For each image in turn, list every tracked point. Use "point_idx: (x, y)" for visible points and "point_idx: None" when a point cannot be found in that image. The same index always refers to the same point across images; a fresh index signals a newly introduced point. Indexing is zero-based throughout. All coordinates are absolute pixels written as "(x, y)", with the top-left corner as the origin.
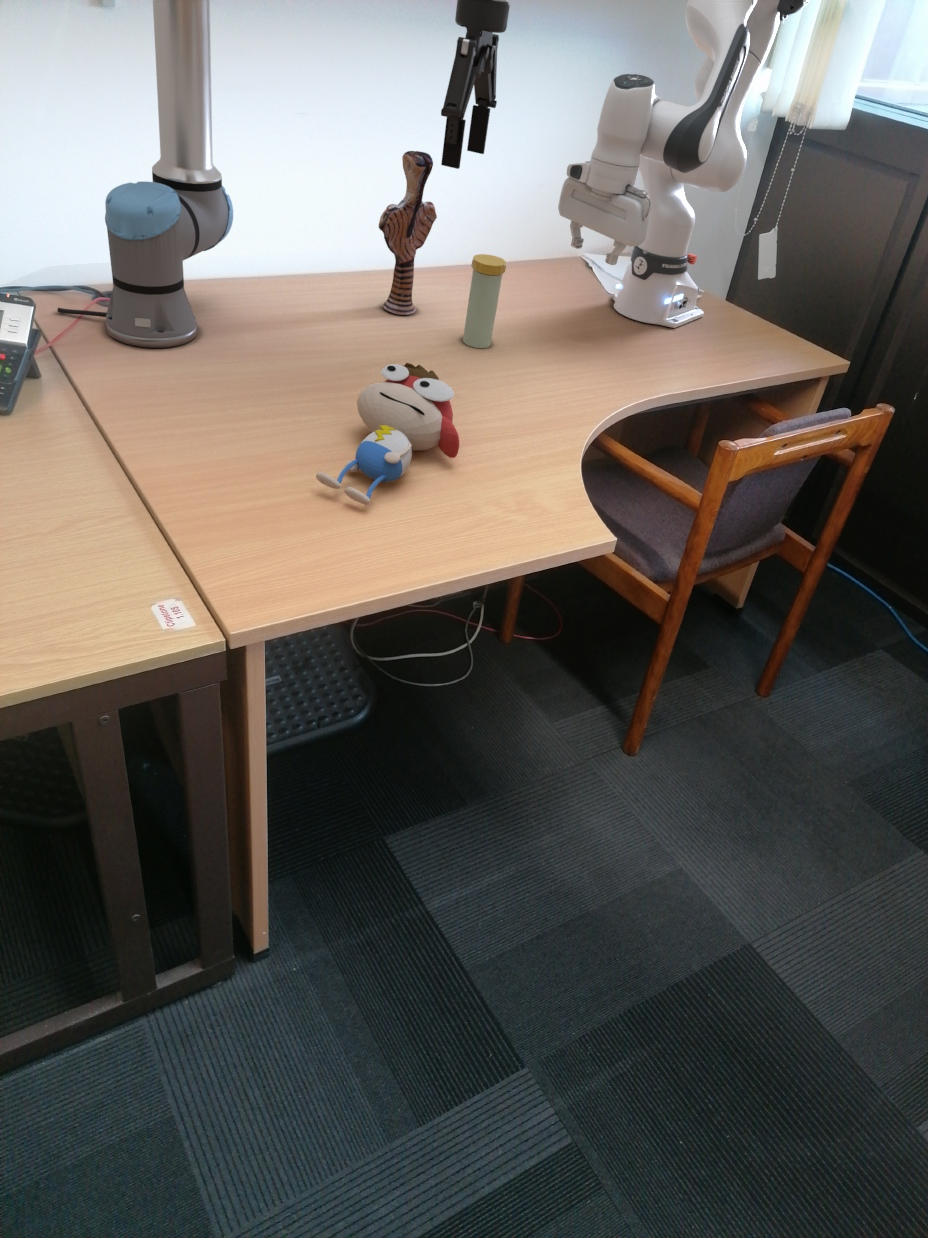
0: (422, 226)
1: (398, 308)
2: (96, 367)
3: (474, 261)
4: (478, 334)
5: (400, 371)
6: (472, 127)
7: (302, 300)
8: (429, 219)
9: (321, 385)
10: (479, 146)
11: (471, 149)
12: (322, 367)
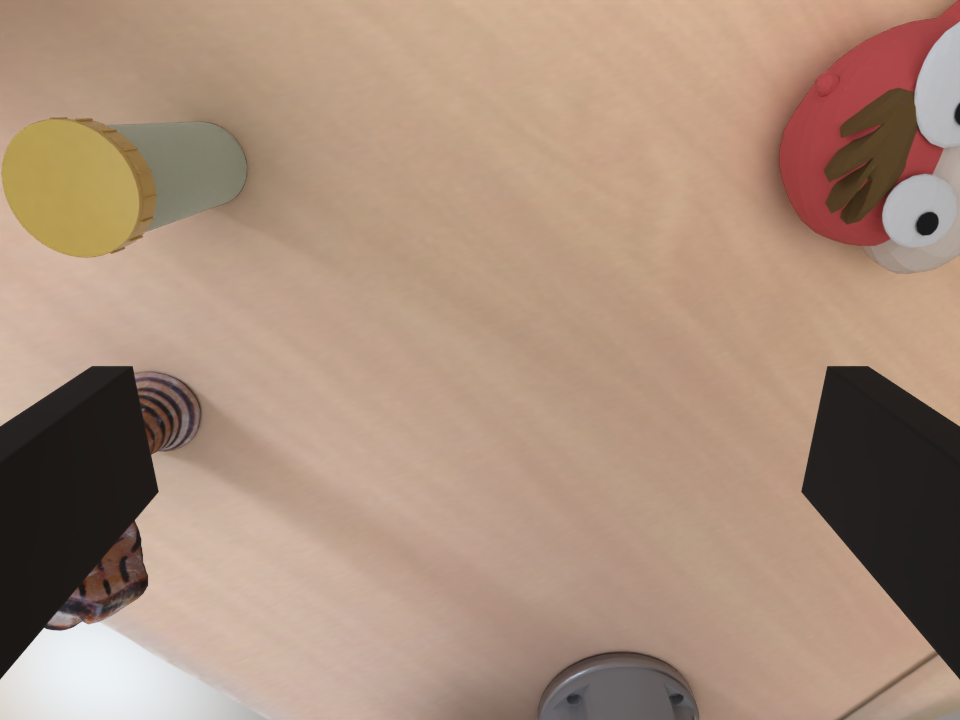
0: None
1: (185, 408)
2: (798, 703)
3: (129, 239)
4: (230, 156)
5: (927, 197)
6: (46, 594)
7: (284, 590)
8: None
9: (685, 394)
10: (112, 423)
11: (145, 466)
12: (598, 426)
